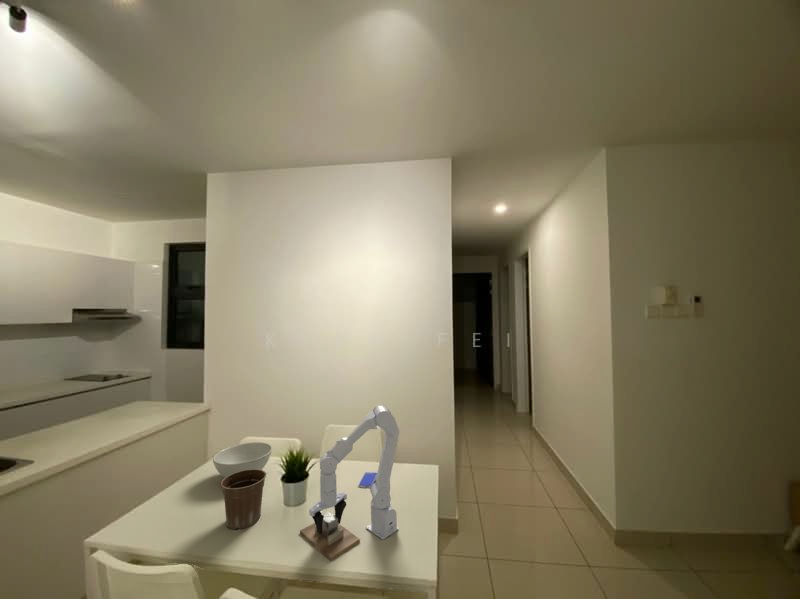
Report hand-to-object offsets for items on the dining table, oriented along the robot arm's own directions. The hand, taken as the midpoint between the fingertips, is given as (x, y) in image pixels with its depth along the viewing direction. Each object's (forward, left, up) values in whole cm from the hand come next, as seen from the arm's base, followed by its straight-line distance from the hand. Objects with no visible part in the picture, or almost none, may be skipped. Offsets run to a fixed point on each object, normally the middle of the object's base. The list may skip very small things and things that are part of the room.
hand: (329, 527), depth 117 cm
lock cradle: (0, 0, -3) cm, 3 cm away
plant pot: (+34, +17, -4) cm, 38 cm away
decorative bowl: (+71, +4, -4) cm, 71 cm away
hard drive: (+20, -36, -4) cm, 42 cm away
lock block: (0, 0, -2) cm, 3 cm away
